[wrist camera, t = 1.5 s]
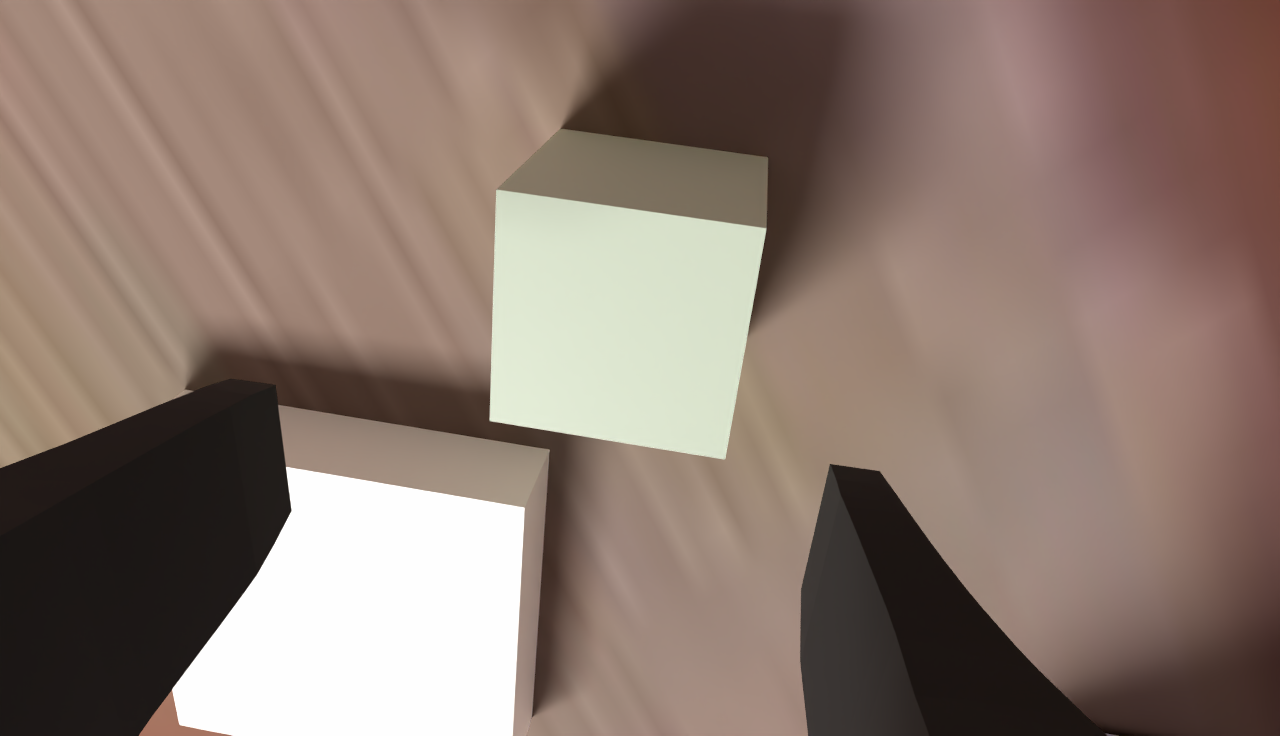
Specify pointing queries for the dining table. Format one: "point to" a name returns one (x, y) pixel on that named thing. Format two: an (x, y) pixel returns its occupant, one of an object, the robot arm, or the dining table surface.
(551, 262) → the sage block
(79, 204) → the dining table surface
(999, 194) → the dining table surface
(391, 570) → the base block
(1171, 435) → the dining table surface
